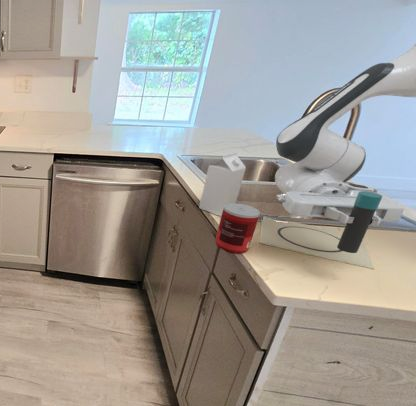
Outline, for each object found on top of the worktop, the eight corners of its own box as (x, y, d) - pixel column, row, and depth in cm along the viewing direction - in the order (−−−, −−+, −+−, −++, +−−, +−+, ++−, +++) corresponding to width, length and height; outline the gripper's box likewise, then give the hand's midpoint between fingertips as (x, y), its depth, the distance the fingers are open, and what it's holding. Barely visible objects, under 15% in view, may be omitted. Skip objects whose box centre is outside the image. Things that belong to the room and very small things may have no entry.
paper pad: (360, 235, 101) (360, 234, 100) (374, 269, 86) (374, 267, 86) (261, 216, 113) (262, 215, 113) (259, 243, 98) (259, 242, 98)
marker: (356, 248, 80) (380, 193, 74) (359, 255, 77) (384, 198, 72) (335, 244, 81) (357, 190, 76) (337, 250, 79) (360, 195, 74)
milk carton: (198, 208, 120) (211, 152, 112) (211, 204, 123) (225, 149, 115) (220, 216, 114) (235, 158, 106) (233, 211, 117) (249, 154, 109)
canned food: (239, 240, 100) (250, 203, 96) (254, 255, 93) (267, 216, 89) (209, 238, 102) (218, 202, 97) (221, 253, 95) (232, 215, 90)
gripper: (276, 182, 89) (308, 204, 77) (378, 186, 84) (430, 211, 72) (269, 205, 92) (299, 230, 79) (368, 211, 87) (416, 239, 74)
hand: (362, 221), depth 76 cm, fingers closed on marker, 3 cm apart
